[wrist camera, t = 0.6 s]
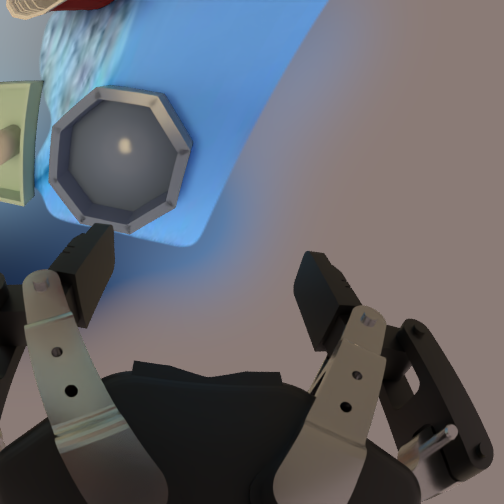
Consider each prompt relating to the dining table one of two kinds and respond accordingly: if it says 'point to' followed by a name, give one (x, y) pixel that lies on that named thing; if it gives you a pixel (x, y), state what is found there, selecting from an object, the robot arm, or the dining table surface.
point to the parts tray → (25, 116)
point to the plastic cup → (50, 6)
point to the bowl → (119, 157)
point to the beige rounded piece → (9, 142)
